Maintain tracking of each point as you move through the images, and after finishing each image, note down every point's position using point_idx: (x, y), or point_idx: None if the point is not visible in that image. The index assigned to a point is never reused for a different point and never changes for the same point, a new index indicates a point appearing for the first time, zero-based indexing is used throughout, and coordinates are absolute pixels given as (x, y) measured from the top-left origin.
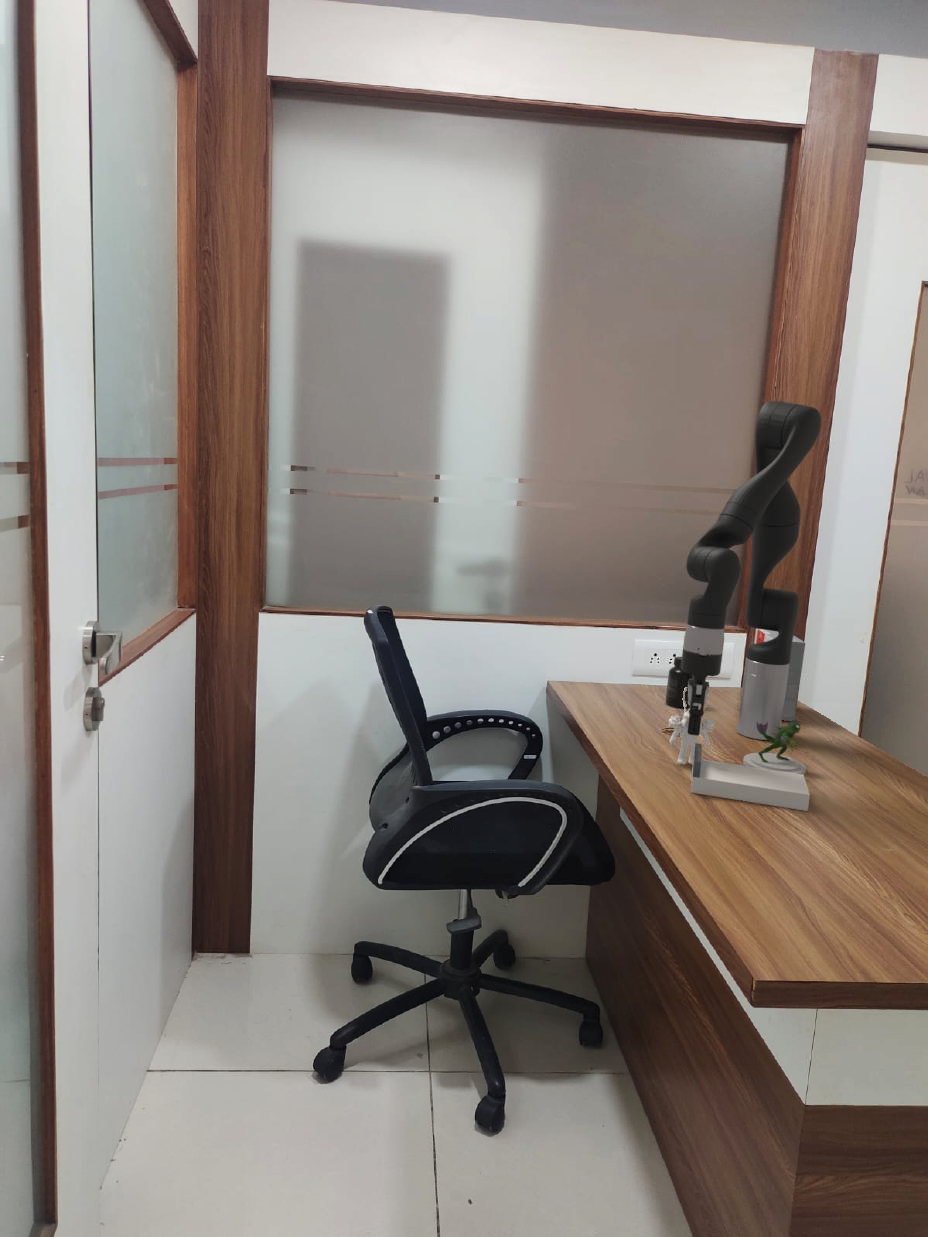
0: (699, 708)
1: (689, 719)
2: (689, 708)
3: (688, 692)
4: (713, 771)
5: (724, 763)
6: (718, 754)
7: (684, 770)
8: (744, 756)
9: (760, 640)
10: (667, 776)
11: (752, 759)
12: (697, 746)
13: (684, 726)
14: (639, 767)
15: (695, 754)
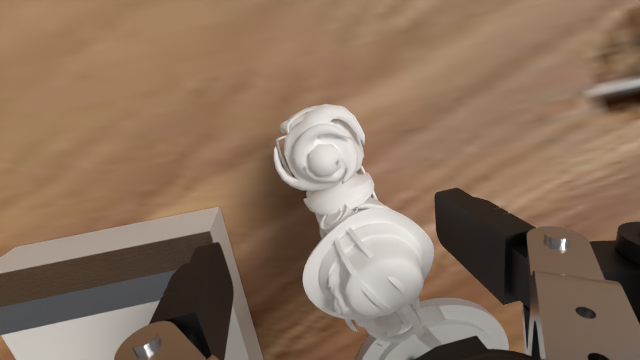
0: (494, 289)
1: (174, 301)
2: (489, 225)
3: (540, 320)
4: (105, 320)
5: (230, 325)
6: None
7: (230, 180)
8: (450, 305)
9: None
10: (118, 144)
11: (414, 336)
12: (149, 285)
13: (307, 205)
14: (135, 20)
15: (8, 308)
